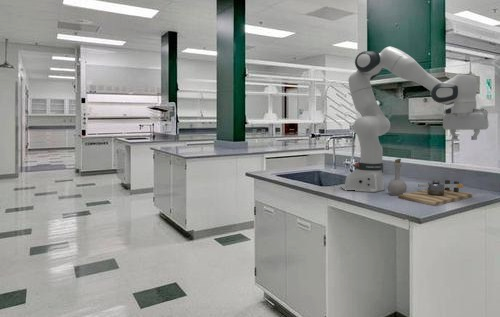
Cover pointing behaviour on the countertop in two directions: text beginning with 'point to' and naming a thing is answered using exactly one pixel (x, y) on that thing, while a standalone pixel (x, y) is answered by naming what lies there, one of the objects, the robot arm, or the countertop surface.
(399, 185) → the potion bottle
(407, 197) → the stand
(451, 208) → the countertop surface
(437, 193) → the capstan
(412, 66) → the robot arm
